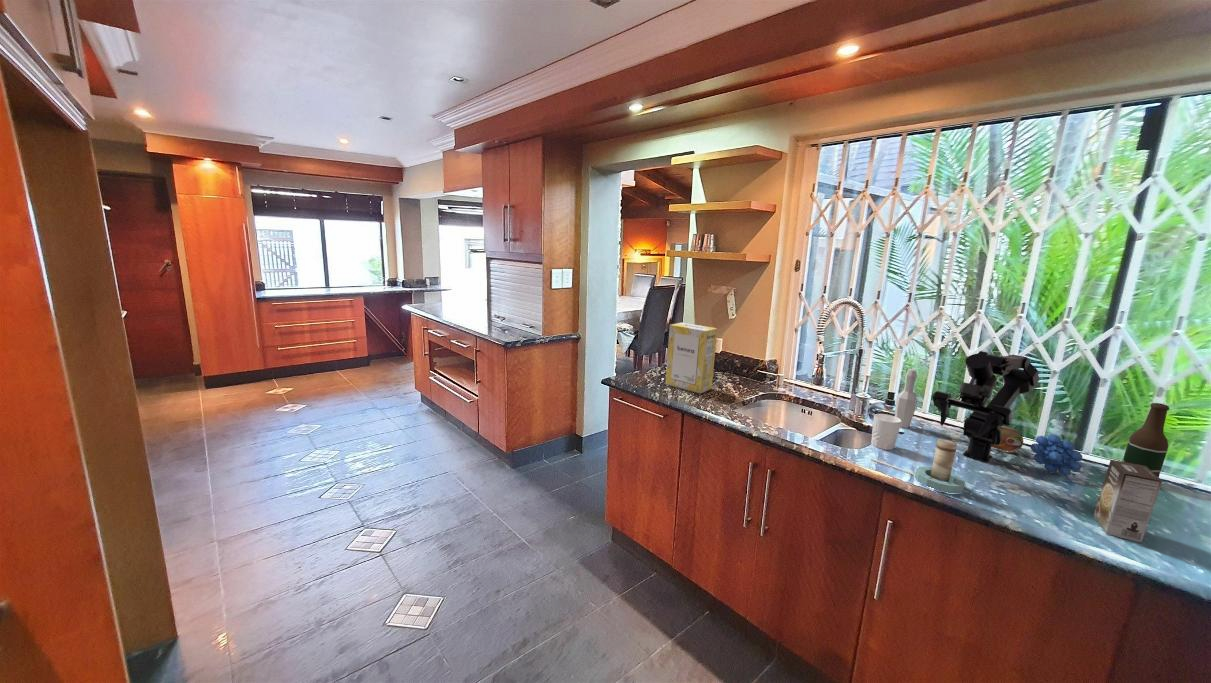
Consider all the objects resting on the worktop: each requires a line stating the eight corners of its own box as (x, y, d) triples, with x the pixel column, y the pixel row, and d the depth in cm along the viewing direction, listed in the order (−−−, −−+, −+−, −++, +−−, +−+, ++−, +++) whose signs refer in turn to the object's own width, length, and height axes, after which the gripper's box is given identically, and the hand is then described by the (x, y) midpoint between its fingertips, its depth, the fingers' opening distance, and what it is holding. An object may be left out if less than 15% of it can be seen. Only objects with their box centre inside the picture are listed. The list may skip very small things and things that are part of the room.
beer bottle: (1143, 476, 141) (1167, 402, 136) (1164, 488, 134) (1189, 410, 129) (1111, 471, 144) (1133, 398, 138) (1129, 482, 136) (1153, 406, 131)
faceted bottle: (891, 426, 173) (902, 369, 169) (892, 421, 178) (902, 366, 174) (911, 430, 170) (922, 373, 165) (911, 425, 175) (922, 369, 170)
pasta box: (665, 384, 213) (669, 324, 207) (677, 379, 221) (681, 322, 215) (700, 393, 201) (706, 331, 195) (711, 388, 209) (717, 328, 203)
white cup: (900, 452, 150) (905, 423, 148) (874, 449, 152) (879, 420, 150) (890, 442, 158) (895, 415, 156) (865, 439, 159) (870, 412, 157)
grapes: (1024, 469, 142) (1033, 433, 139) (1026, 463, 146) (1035, 428, 144) (1077, 484, 134) (1088, 446, 131) (1077, 477, 138) (1088, 440, 136)
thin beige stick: (872, 459, 144) (872, 458, 144) (915, 475, 135) (916, 473, 135) (871, 460, 143) (871, 459, 143) (914, 476, 134) (915, 474, 134)
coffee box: (1091, 516, 117) (1109, 458, 114) (1127, 524, 114) (1146, 465, 111) (1105, 534, 110) (1124, 472, 106) (1144, 544, 106) (1164, 481, 103)
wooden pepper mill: (939, 479, 133) (948, 439, 130) (952, 487, 128) (961, 446, 126) (925, 479, 132) (933, 439, 130) (937, 487, 128) (946, 446, 125)
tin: (963, 441, 162) (968, 418, 160) (965, 438, 164) (970, 416, 163) (1019, 456, 151) (1025, 432, 149) (1021, 454, 153) (1027, 430, 151)
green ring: (922, 470, 138) (924, 463, 137) (967, 486, 130) (969, 478, 129) (909, 481, 131) (911, 473, 131) (956, 498, 123) (958, 490, 122)
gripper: (940, 365, 142) (919, 405, 138) (1018, 381, 127) (998, 426, 123) (944, 386, 148) (924, 425, 144) (1019, 403, 134) (1000, 447, 129)
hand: (959, 430), depth 135 cm, fingers open, 9 cm apart
